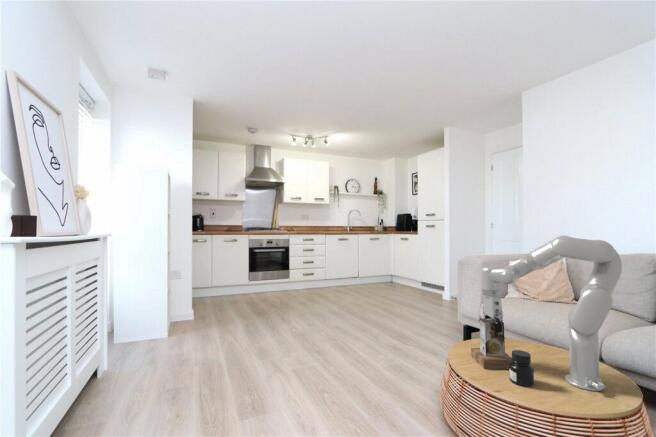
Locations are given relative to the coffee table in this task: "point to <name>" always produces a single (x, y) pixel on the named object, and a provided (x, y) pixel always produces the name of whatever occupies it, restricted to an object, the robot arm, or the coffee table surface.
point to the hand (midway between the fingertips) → (493, 328)
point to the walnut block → (491, 360)
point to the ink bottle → (521, 369)
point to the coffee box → (491, 339)
